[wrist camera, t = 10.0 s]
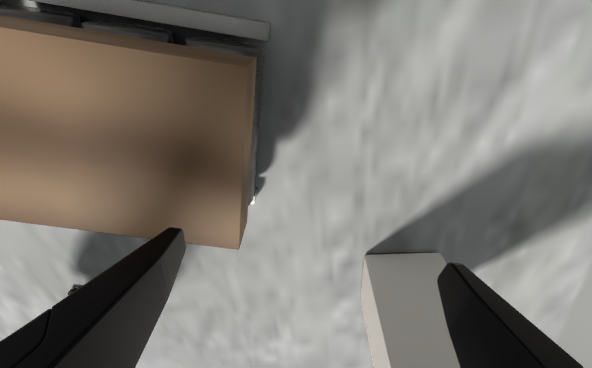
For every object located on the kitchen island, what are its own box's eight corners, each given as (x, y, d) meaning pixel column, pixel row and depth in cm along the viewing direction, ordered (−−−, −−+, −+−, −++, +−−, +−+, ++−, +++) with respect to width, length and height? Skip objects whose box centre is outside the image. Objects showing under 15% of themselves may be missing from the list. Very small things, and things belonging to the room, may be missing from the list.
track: (256, 195, 22) (247, 228, 18) (-121, 143, 20) (-206, 169, 17) (270, 23, 15) (260, 26, 12) (-299, -77, 13) (-499, -105, 10)
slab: (247, 221, 17) (238, 249, 15) (27, 192, 17) (-13, 217, 15) (256, 57, 12) (245, 67, 10) (-72, 2, 11) (-158, 1, 9)
